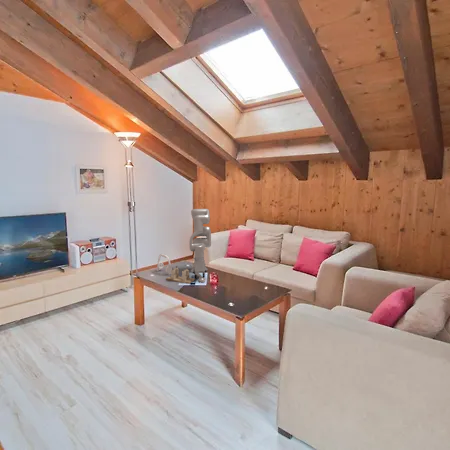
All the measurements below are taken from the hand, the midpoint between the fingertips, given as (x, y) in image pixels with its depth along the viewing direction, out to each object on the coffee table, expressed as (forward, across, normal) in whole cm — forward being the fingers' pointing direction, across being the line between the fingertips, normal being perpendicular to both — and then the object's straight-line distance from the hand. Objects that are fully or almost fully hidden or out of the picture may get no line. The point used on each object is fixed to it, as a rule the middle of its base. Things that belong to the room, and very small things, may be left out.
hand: (199, 277), depth 294 cm
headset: (+1, -26, +30) cm, 40 cm away
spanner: (+1, 0, 0) cm, 1 cm away
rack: (+1, -17, +3) cm, 17 cm away
